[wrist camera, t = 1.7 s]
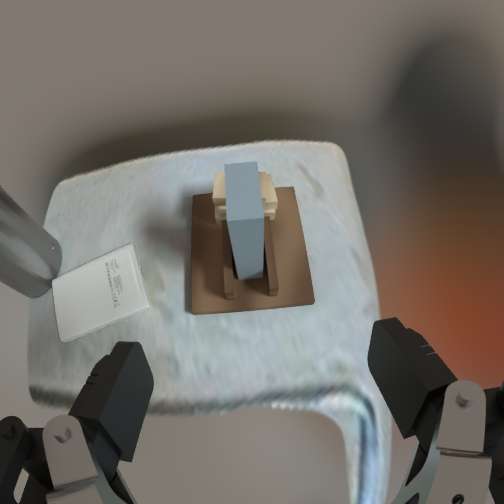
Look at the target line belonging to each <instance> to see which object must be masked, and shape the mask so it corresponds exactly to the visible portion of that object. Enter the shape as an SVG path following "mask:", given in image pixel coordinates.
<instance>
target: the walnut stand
mask: <svg viewBox="0 0 504 504" xmlns="http://www.w3.org/2000/svg"><path fill="white" fill-rule="evenodd" d="M275 192H276V196H277V200H278V205H277V209H275V212H276V214H275V219H274V220H270V216H264V254H263V278H254V279H243V280H239V279H238V274H237V269H236V264H235V259H234V255H233V250H232V245H231V240H230V235H229V230H228V225H227V220H222V224H216V220H215V206H214V203H213V199H212V197H213V193H210V194H201V195H193V206H192V245H191V296H192V313H193V314H194V315H200V314H216V313H230V312H242V311H254V310H265V309H275V308H285V307H294V306H303V305H311V304H314V302H315V298H314V292H313V286H312V280H311V274H310V268H309V262H308V257H307V251H306V246H305V241H304V235H303V230H302V225H301V220H300V215H299V210H298V205H297V200H296V196H295V191H294V187H280V188H275Z"/></svg>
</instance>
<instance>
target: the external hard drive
mask: <svg viewBox="0 0 504 504" xmlns="http://www.w3.org/2000/svg"><path fill="white" fill-rule="evenodd" d="M52 288H53V298H54V306H55V313H56V320H57V326H58V332H59V336H60V340H61V341H62V342H65V343H67V342H70V341H72V340H75V339H77V338H80V337H82V336H85V335H87V334H90V333H92V332H95V331H98V330H100V329H102V328H105V327H108V326H110V325H113V324H115V323H118V322H120V321H123V320H125V319H127V318H130V317H132V316H135V315H137V314H140V313H142V312H145V311H147V310H150V309H152V308H153V307H152V304H151V301H150V298H149V294H148V291H147V288H146V284H145V281H144V280H143V276H142V273H141V266H140V262H139V258H138V254H137V250H136V246H135V245H134V243H133V242H132V243H130V244H128V245H125V246H123V247H121V248H119V249H117V250H114V251H112V252H110V253H108V254H105V255H103V256H101V257H99V258H97V259H95V260H93V261H90V262H88V263H86V264H84V265H82V266H80V267H78V268H76V269H74V270H72V271H70V272H68V273H66V274H64V275H62V276H60V277H58V278H56V279H54V280H52Z"/></svg>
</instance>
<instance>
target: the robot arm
mask: <svg viewBox="0 0 504 504" xmlns="http://www.w3.org/2000/svg"><path fill="white" fill-rule="evenodd" d="M61 259H62V254H61V248H60V245H59V243H58V241H57V240H56V239H55V238H53V237H52V236H51V235H50V234H49V233H48V232H47V231H46V230H45V229H44V228H42V227H41V226H40V225H39V224H38V223H37V222H36V221H35V220H34V219H33V218H32V217H31V216H30V215H29V214H28V213H27V212H26V211H25V210H24V209H23V208H22V207H21V206H20V205H18V203H17V202H16V201H14V199H13V198H12V197H11V196H10V195H9V194H8V193H7V192H6V191H5V190H4V189H3V188H2V187H1V186H0V281H1V282H2V283H4V284H6V285H7V286H9V287H11V288H13V289H14V290H16V291H18V292H20V293H22V294H24V295H25V296H27V297H30V298H36V297H39V296H41V295H43V294H44V293H45V292H46V291H48V290H49V288H50V287H51V286H52V280H54V279H56V278H57V275H58V273H59V270H60V266H61ZM368 367H369V370H370V372H371V374H372V376H373V378H374V380H375V382H376V384H377V386H378V388H379V390H380V392H381V394H382V396H383V398H384V400H385V402H386V404H387V406H388V408H389V410H390V412H391V414H392V416H393V418H394V420H395V422H396V424H397V426H398V428H399V430H400V432H401V434H402V436H403V438H404V439H406V438H408V437H411V436H414V435H416V437H417V438H418V442H417V443H416V445H415V448H414V452H413V455H412V458H411V461H410V464H409V467H408V470H407V473H406V475H405V478H404V480H403V483H402V486H401V488H400V490H399V492H398V494H397V496H396V497H395V499H394V500H393V502H392V503H391V504H485V501H486V496H487V492H488V488H489V490H490V492H491V494H492V497H493V499H494V502H495V504H504V381H503V383H502V385H501V387H496V388H491V389H485V390H482V389H481V387H480V386H479V385H477V384H476V383H474V382H471V381H468V380H459V381H458V380H457V378H456V377H455V376H454V374H453V373H452V372H451V371H450V369H449V368H448V367H447V366H446V364H445V363H444V362H443V361H442V359H441V358H440V357H439V356H438V354H435V351H434V350H433V348H432V347H431V346H429V344H428V343H427V341H426V340H425V339H424V338H423V336H422V335H420V334H419V333H417V332H415V331H414V330H412V329H410V328H408V329H406V328H405V327H404V326H403V324H402V323H401V322H400V321H399V320H398V319H397V318H396V317H393V318H389V319H383V320H378V321H375V322H374V324H373V329H372V335H371V340H370V346H369V351H368ZM153 387H154V380H153V375H152V372H151V369H150V367H149V364H148V362H147V359H146V356H145V354H144V351H143V348H142V346H141V344H140V343H139V342H125V341H119V342H117V343H116V345H115V346H114V348H113V350H112V352H111V353H110V355H106V356H104V357H103V358H102V359H101V360H100V361H99V362H97V363H96V365H95V367H94V368H93V370H92V372H91V376H89V377H88V379H87V381H86V384H84V386H83V388H82V389H81V391H80V393H79V395H78V397H77V399H76V400H75V402H74V404H73V406H72V408H71V410H70V412H69V414H68V415H61V416H57V417H55V418H53V419H51V420H50V421H49V422H48V423H47V424H46V426H45V427H44V428H27V427H26V426H25V424H24V423H23V422H22V421H21V419H19V418H18V417H16V416H8V417H6V418H4V419H2V420H1V421H0V504H18V503H17V502H16V501H15V499H14V494H13V493H14V489H15V486H16V483H17V480H18V478H19V475H20V472H21V470H22V468H23V469H24V470H25V471H26V472H28V474H29V477H28V480H27V483H26V486H25V488H24V492H23V494H22V498H21V501H20V503H19V504H137V502H136V500H135V498H134V497H133V495H132V493H131V491H130V489H129V488H128V486H127V484H126V482H125V480H124V478H123V476H122V474H121V472H120V471H119V469H118V468H117V466H118V463H119V460H122V461H127V462H132V459H133V455H134V452H135V448H136V444H137V441H138V438H139V434H140V431H141V427H142V424H143V421H144V418H145V414H146V411H147V408H148V404H149V401H150V398H151V395H152V392H153Z"/></svg>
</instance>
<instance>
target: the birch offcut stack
mask: <svg viewBox="0 0 504 504" xmlns="http://www.w3.org/2000/svg"><path fill="white" fill-rule="evenodd" d="M258 174H259V181H260V189H261V197H262V204H263V212H264V216H270V220H274V219H275V214H276V212H275V209H277V205H278V200H277V196H276V192H275V188H274V184H273V181H272V177H271V174H266V175H265V172H258ZM212 199H213V203H214V206H215V220H216V224H222V220H227V216H226V192H225V172H216V173H215V181H214V189H213V197H212Z"/></svg>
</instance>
